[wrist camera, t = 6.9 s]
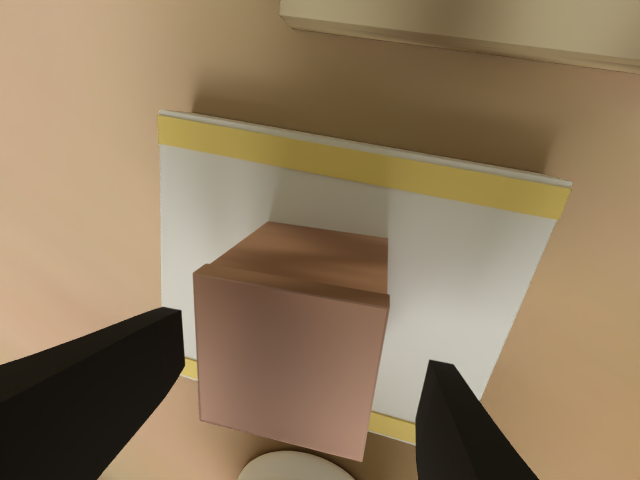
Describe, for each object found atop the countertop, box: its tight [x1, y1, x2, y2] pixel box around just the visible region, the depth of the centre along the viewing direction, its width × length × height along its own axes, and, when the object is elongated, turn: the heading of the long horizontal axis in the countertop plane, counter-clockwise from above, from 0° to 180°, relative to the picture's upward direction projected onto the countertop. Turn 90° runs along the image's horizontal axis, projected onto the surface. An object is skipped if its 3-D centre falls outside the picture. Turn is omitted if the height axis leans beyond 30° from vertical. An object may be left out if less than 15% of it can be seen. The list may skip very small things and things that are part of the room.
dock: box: [158, 109, 573, 446], centre depth 14 cm, size 14×12×2 cm
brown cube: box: [193, 221, 390, 462], centre depth 10 cm, size 5×5×5 cm
